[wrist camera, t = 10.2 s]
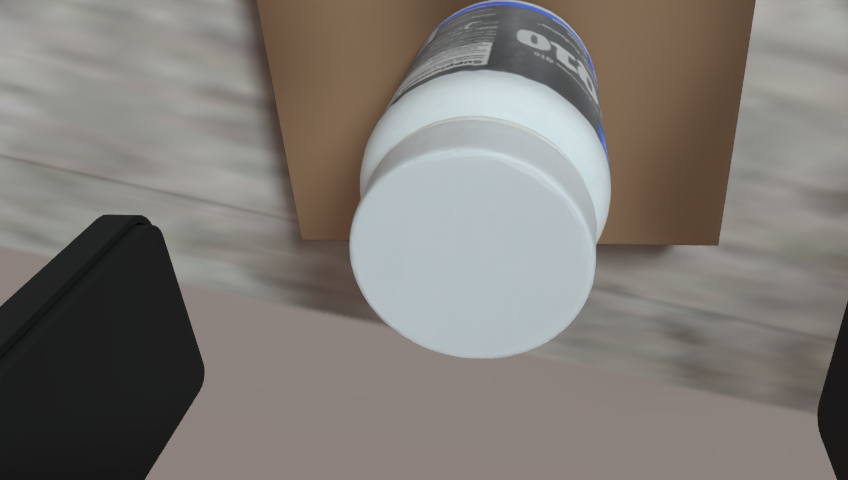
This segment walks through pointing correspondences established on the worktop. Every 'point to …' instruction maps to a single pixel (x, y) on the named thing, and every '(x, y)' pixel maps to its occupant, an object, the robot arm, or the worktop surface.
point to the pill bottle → (485, 186)
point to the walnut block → (617, 84)
